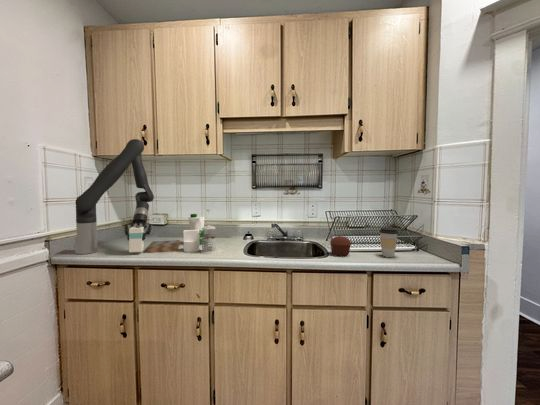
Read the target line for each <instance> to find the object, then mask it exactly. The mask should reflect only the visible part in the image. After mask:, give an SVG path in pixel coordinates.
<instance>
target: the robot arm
mask: <svg viewBox="0 0 540 405" xmlns="http://www.w3.org/2000/svg"><path fill="white" fill-rule="evenodd" d="M144 149H145V145H144V143H143V141H142V140H140V139H135V138H133V139H130V140H129V141H128V142H127V143H126V145H125V146H124V148H123V150H122V151H121V152H120V153H119V154H118V155H117V156H116V157H115V158H113V159H112V160H111V161H110V162H109V163H108V164H107V165H106V166H105V167H104V168H103V169H102V170H101V171H100V172H99V174H98V175H97V177H96V178H95V180H94V181H93V182H92V184H91V185H90V186H89V187H88V188H87V189H86V190H85V191H84V192H83V193H82V194H80V195H79V196H78V197H77V198H76V200H75V224H76V225H75V228H76V229H75V230H76V236H74V245H75V246H74V247H75V248H74V249H75V250H74V251H75V252H74V253H75V255H87V254H88V255H89V254H94V253H98V227H97V225H98V222H97V207H96V206H97V204H98V202H99V201H100V199H101V198H102V197H103V195H104V194H105V193H106V192H107V191H108V190H110V189H111V187H113V185H115V184H116V183H117V182H118V181H119V179H121V177H122V176H123V174H124V173H125V172H126V170H128V168H129V166H130V165H131V166H132V171H133V177H134V178H133V179H134V181H135V187H136V188H138V189H143V190H144V191H139V192H137V193H135V195H134V198H135V203H136V204H135V205H136V206H135V210H134V213H133V217H132V221H131V223H130V224H128V223H127V224H126V223H125V225H124V235H125V236H127V239H126V240H127V241H129V229H130V228H131V227H136V226H140V227H143V235H142V241H145V240H146V237H147V235H148V236H149V235H150V234H151V231H152V228H153V225H152V224H151V223H149V224H148V222H147V221H148V218H149V208H150V205H149V203H151V202H153V201H154V199H155V196H154V193H153V190H152V189H151V187H150V185H149V180H148V176H147V172H146V169H145V166H144V163H143V159H142V156H143V155H142V153H143V152H144ZM146 228H147V230H145V229H146Z"/></svg>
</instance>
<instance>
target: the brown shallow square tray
mask: <svg viewBox="0 0 540 405" xmlns="http://www.w3.org/2000/svg"><path fill="white" fill-rule="evenodd" d="M179 247H180V240H179V239H173V240H172V239H171V240H156V241H155V240H152V241H151V242H150V243H149V244H148V245H147V247H146V252H147V254H153V253H154V254H155V253H156V254H157V253H167V252H168V253H172V252H178V251H179Z"/></svg>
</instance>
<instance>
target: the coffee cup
mask: <svg viewBox="0 0 540 405" xmlns="http://www.w3.org/2000/svg"><path fill="white" fill-rule="evenodd" d="M378 233H380V234H379V236H380V237H379V238H380V239H379V240H380V248H381V256H382V255H383V256H382V257H384V256H385V257H384V258H389V257H391V258H395V253H396V248H397V241H398V240H397V239H398V234H399V231H398V229H397V228H392V227H381V228H380V229H379V231H378Z"/></svg>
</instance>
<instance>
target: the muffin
mask: <svg viewBox="0 0 540 405" xmlns="http://www.w3.org/2000/svg"><path fill="white" fill-rule="evenodd" d="M329 243H330V250H331V254H332V255H333V254H334V255H333V256H335V255H337V256H336V257H342V256H344V257H348V256H349V255H350V250H351V249H350V248H351V245H352V244H353V243H352V242H351V240H350V239H349V238H348V237H346V236H341V235H339V236H333V237H332V239H331V240H330V242H329ZM348 254H349V255H348ZM347 255H348V256H347Z"/></svg>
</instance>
